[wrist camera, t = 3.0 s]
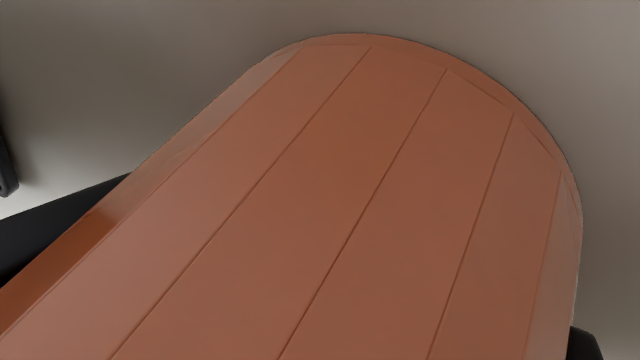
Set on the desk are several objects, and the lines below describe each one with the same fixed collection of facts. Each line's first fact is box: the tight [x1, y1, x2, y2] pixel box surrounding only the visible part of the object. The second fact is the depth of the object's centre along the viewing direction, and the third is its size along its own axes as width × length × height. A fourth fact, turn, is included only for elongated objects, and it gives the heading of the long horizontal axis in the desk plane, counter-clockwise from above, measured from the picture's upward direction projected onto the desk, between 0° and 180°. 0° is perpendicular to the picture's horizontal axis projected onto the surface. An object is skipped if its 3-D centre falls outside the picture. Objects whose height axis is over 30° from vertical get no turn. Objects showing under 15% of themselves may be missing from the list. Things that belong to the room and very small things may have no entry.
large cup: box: [0, 33, 584, 360], centre depth 9 cm, size 7×7×7 cm
